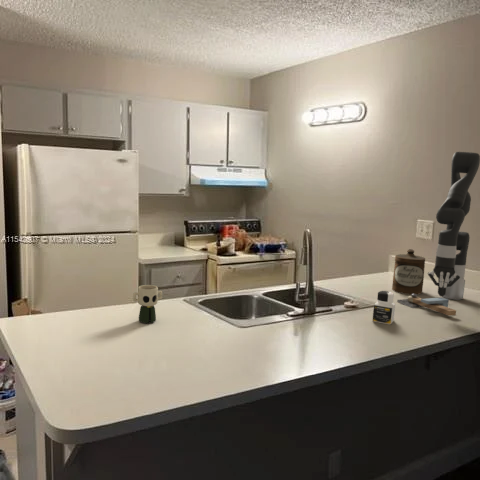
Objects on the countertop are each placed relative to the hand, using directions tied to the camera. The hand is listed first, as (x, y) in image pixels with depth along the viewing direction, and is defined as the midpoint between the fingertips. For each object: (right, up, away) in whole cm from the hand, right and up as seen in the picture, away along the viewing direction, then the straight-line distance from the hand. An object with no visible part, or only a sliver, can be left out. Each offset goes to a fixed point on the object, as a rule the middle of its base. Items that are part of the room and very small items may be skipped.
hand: (441, 295), depth 198 cm
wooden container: (+2, -3, +45) cm, 45 cm away
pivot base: (-5, -6, +19) cm, 21 cm away
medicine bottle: (-28, -9, -10) cm, 31 cm away
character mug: (-119, -7, -26) cm, 122 cm away
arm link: (-1, -6, +10) cm, 12 cm away
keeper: (+1, -8, +10) cm, 12 cm away
